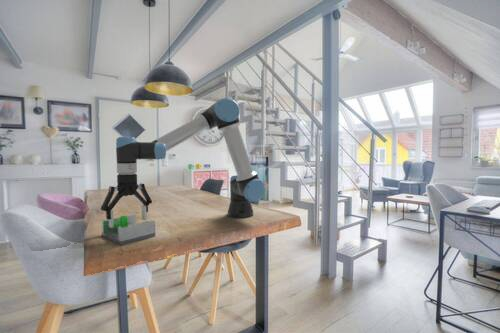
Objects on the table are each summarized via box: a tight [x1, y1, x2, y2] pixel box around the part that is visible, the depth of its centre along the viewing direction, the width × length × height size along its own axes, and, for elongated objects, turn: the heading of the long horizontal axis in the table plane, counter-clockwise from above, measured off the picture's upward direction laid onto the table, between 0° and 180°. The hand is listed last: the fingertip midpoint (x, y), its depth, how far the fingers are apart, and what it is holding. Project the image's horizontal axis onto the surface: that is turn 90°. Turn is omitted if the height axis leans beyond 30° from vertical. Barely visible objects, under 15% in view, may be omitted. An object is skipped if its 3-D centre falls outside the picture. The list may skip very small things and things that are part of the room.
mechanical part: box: [118, 215, 132, 227], centre depth 101 cm, size 12×6×8 cm, turn 35°
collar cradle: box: [100, 213, 156, 246], centre depth 102 cm, size 19×14×6 cm
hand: (128, 223), depth 102 cm, fingers open, 13 cm apart
